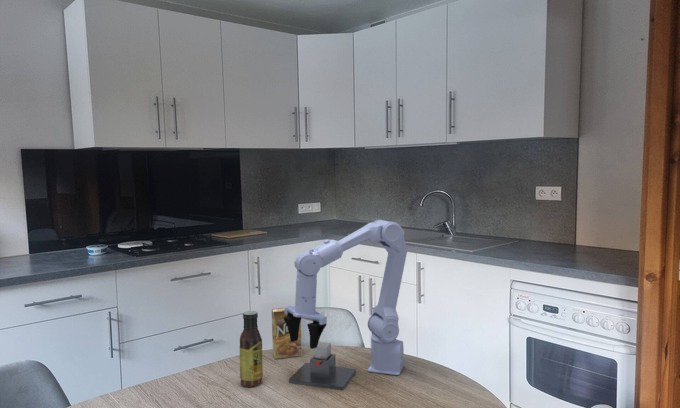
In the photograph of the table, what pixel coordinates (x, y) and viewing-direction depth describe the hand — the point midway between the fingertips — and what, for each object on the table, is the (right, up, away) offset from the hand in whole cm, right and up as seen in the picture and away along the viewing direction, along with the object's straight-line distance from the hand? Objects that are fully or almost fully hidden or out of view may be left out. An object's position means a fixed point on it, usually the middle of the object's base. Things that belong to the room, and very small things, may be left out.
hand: (303, 344), depth 130 cm
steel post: (+5, -9, +3) cm, 11 cm away
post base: (+5, -10, +3) cm, 12 cm away
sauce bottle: (-15, -11, 0) cm, 18 cm away
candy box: (-7, -10, +20) cm, 23 cm away
